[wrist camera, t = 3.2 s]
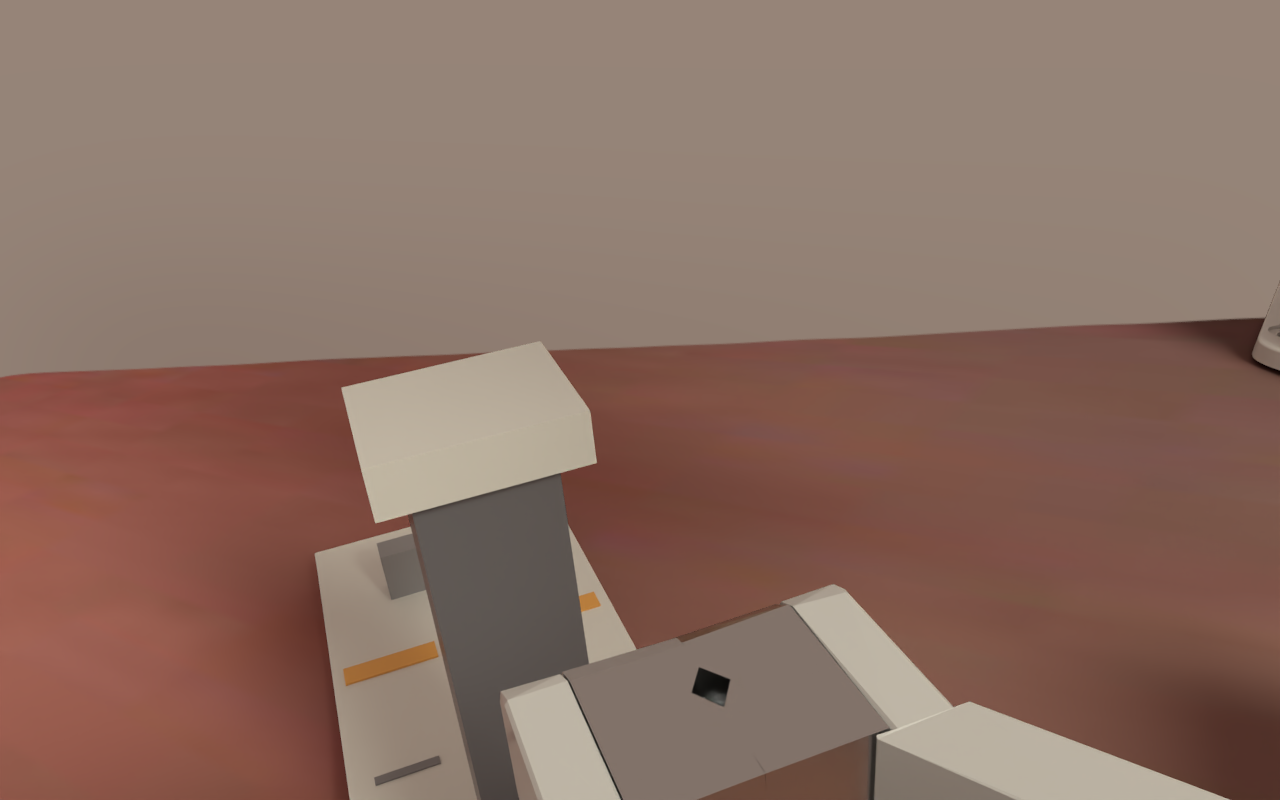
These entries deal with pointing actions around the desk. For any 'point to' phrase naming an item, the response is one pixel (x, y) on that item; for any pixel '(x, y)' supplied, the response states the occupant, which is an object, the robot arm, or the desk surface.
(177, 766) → the desk surface
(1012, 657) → the desk surface
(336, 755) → the desk surface
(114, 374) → the desk surface
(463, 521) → the fader tab
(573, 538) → the console
